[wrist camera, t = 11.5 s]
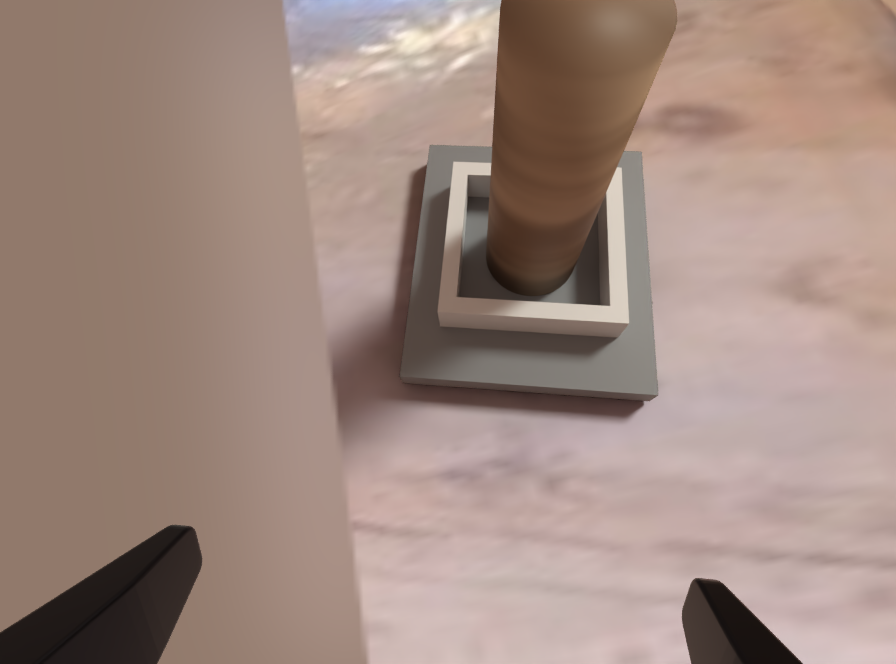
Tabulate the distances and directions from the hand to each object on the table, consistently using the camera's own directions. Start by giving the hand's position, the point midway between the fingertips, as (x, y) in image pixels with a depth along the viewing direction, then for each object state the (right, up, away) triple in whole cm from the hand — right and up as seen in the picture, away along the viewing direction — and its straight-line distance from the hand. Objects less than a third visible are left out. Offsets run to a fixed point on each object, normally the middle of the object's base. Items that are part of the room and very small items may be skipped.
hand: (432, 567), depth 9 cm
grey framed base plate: (+5, +8, +17) cm, 20 cm away
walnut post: (+5, +8, +16) cm, 19 cm away
